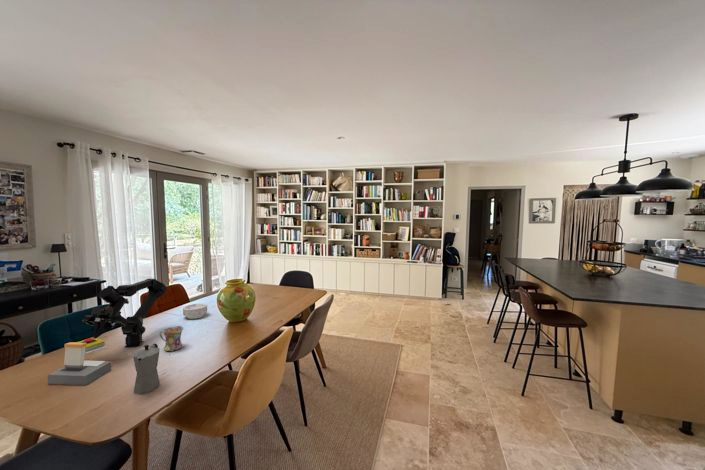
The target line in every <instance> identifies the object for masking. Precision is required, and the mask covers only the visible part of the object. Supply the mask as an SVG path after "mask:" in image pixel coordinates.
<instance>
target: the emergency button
mask: <svg viewBox="0 0 705 470" xmlns="http://www.w3.org/2000/svg"><path fill="white" fill-rule="evenodd" d="M76 343H87V346H85V354H89V353H92V352H95V351H99V350H102V349H106V348H107V347H108V346H107V345H106V344H105V340H103V339H100V338H99V337H97V338H96V339H95V338H93V337H90V338H86V339H83V340H81V341H76Z"/></svg>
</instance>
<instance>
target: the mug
mask: <svg viewBox="0 0 705 470" xmlns="http://www.w3.org/2000/svg"><path fill="white" fill-rule="evenodd" d="M183 330H184V327H183V326H178V325H177V326H171V327H167V328H164V329H163V330H162V331H160V332H159V338H161V340H162V341H164V342H165V345H164V347H163V350H164V351H166V352H173V351H174V352H175V351H177V350H179V349H181V348H182V347H183V343H182V340H181V339H182V338H181V336H182V333H183ZM162 333H163V335H164V337H165V338H163V336H162Z"/></svg>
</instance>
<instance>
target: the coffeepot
mask: <svg viewBox="0 0 705 470" xmlns="http://www.w3.org/2000/svg"><path fill="white" fill-rule="evenodd" d="M160 351H161V350H160V348H159V346H158V344H157V343H153V344H151V345H149V344H145V345H144V348H142V349H139V350H138V351H135V352H133V354H132V356H133V357H132V359H133V363H134V369H135V372H136V376H135V382H134V387H133V393H134V394H138V395H143V394H149V393H150V392H153V391H155V390H156V389H159V387H160V386H161V385H160V384H161V383H160V377H159V372H158V369H157V368H158V363H159V357H160Z"/></svg>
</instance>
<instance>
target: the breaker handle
mask: <svg viewBox="0 0 705 470" xmlns="http://www.w3.org/2000/svg"><path fill="white" fill-rule="evenodd" d="M76 342H77V341H76ZM76 342H75V341H73V342H67V343H64V346H63V347H64V360H63V366H65V368H82V367H83V364H84V360H85V355H86V353H85V346H87V343H76Z"/></svg>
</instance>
